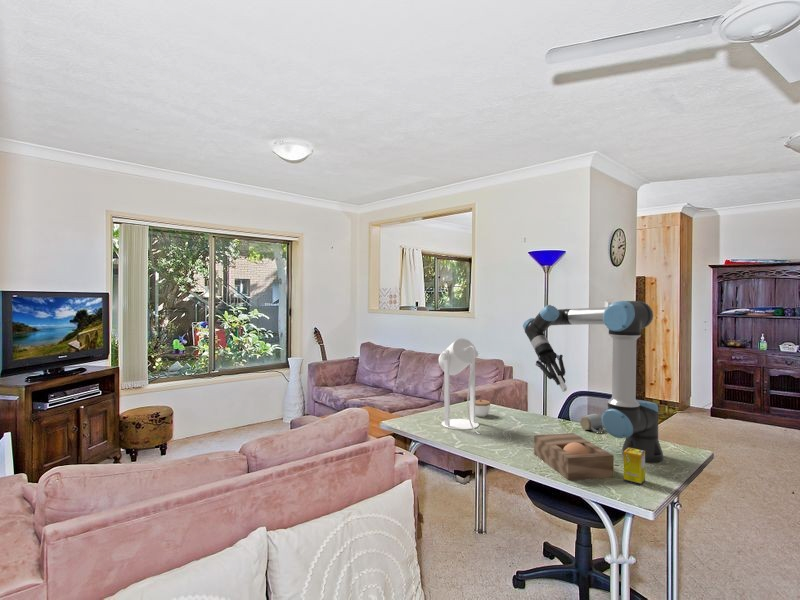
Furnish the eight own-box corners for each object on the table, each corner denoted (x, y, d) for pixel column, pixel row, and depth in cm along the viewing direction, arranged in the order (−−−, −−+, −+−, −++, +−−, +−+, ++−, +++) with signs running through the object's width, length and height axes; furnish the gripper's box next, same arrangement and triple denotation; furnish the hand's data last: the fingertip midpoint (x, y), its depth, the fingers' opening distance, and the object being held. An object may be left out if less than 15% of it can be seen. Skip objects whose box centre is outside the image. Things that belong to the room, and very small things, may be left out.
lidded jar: (469, 413, 265) (469, 396, 265) (487, 412, 266) (487, 396, 266) (473, 418, 255) (473, 401, 255) (492, 417, 255) (492, 400, 255)
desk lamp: (462, 416, 258) (462, 335, 258) (499, 431, 230) (499, 340, 230) (430, 421, 249) (429, 337, 248) (465, 437, 220) (464, 342, 220)
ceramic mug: (578, 428, 234) (578, 413, 233) (590, 426, 237) (591, 411, 237) (595, 434, 224) (595, 419, 224) (607, 432, 228) (608, 417, 227)
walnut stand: (534, 454, 197) (534, 435, 197) (573, 451, 199) (573, 433, 199) (568, 480, 169) (568, 458, 169) (613, 476, 172) (613, 455, 172)
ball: (596, 446, 178) (592, 470, 180) (573, 435, 186) (570, 458, 188) (581, 452, 172) (577, 477, 174) (558, 441, 180) (555, 464, 182)
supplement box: (627, 476, 172) (627, 447, 172) (645, 480, 168) (645, 450, 168) (622, 481, 168) (622, 451, 168) (641, 485, 164) (641, 454, 164)
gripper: (554, 348, 221) (577, 390, 206) (528, 355, 220) (549, 397, 205) (556, 339, 216) (580, 381, 200) (529, 345, 215) (551, 389, 199)
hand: (564, 389), depth 202 cm, fingers closed
